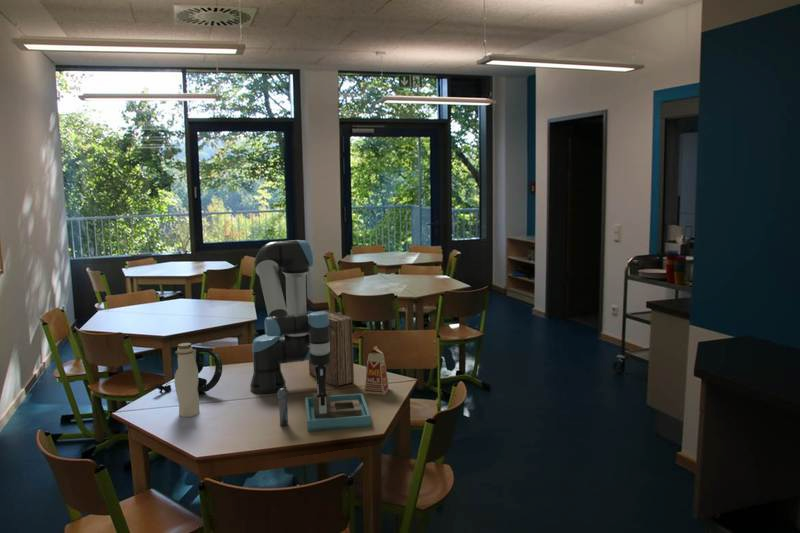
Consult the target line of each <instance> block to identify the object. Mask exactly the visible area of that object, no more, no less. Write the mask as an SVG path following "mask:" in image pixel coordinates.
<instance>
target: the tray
mask: <svg viewBox="0 0 800 533" xmlns="http://www.w3.org/2000/svg"><path fill="white" fill-rule="evenodd" d="M357 399H358V400H359V403H360V407H361V410H362V416H352V417H339V418H330V417H321V418H315V415H314V396H311V397H305V398H304V400H305V414H306V427H307V432H308V433H309V432H319V431H320V432H321V431H322V432H323V431H332V430H344V429H354V428H356V429H357V428H366V427H367V428H368V427H372V425H371V424H372V422H371V420H372V417H371V413H370V411H369V407H368V405H367V403H366V400H365V396H364V392H363V393H348V394H337V395H336V394H335V395H330V402H332V401H344V400H357Z"/></svg>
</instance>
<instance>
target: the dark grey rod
mask: <svg viewBox="0 0 800 533" xmlns="http://www.w3.org/2000/svg"><path fill="white" fill-rule="evenodd" d="M276 394H277V397H278V408H279V410H278V412H279V426H280V427H286V426H288V425H289V416H288V415H289V412H288V396H289V392H288V390H287V389H286V387H285V388H281V389H279V390H278V392H276Z"/></svg>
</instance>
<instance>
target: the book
mask: <svg viewBox="0 0 800 533" xmlns="http://www.w3.org/2000/svg"><path fill="white" fill-rule="evenodd" d="M312 311H313V312H326V313H327V314H328V318H329V341H330V352H329V353H330V363H328V364H325V365H324V367H326V380H325V384H328V385H330V386H331V387H334V388H336V389H337V388H338V386H344V385H347V384H354V383H355V372H354V371H355V370H354V347H353V346H354V343H353V342H354V341H353V337H354V336H353V318H352V317H351V316H348V315H346V314H341V313H338V312H335V311H333V310H330V309H329V310H328V309H325V308H324V309H316V310H312ZM315 367H317V365H312V364H311V363H310V360H308V372H309V374H308V375H310V376H312V377H314V378H315V379H317V375H316V372H315Z"/></svg>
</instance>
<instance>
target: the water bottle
mask: <svg viewBox="0 0 800 533" xmlns="http://www.w3.org/2000/svg"><path fill="white" fill-rule="evenodd" d="M196 351H197V349H196V348H195V349H194V348H193V346H192V343H191V342H182V343H179V344H177V350H176V351H175V352H174V353H175V354H176V355H177V369H176V372H175V373H174V388H175V394H176V396H177V401H178V415H179V416H180V417H183V418H189V417H190V418H191V417H194V416H197V415H199V414H200V399H199V398H200V396H199V393H198V390H197V388H198V378H199V374H198V368H197V365H196Z"/></svg>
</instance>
